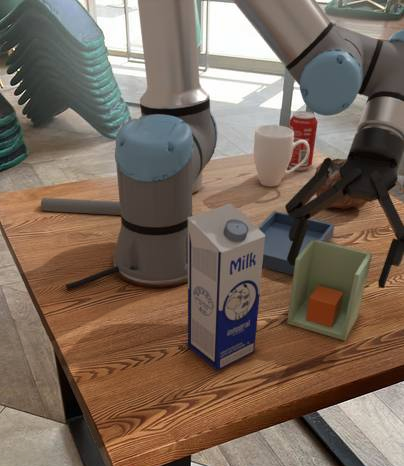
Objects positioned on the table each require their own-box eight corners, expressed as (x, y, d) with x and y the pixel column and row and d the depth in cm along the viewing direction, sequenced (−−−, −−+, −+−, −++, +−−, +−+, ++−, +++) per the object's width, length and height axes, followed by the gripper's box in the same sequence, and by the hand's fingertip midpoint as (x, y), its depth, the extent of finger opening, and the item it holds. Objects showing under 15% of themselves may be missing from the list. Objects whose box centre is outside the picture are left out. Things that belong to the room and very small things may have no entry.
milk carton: (224, 329, 85) (231, 201, 72) (255, 351, 81) (267, 220, 68) (186, 347, 81) (186, 216, 69) (216, 371, 77) (222, 236, 65)
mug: (249, 188, 126) (252, 135, 119) (253, 174, 132) (257, 123, 125) (303, 193, 124) (311, 140, 117) (305, 179, 131) (312, 127, 123)
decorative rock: (376, 198, 123) (387, 151, 117) (372, 220, 115) (383, 171, 108) (315, 190, 126) (322, 144, 120) (307, 210, 118) (314, 162, 111)
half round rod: (136, 216, 114) (135, 208, 113) (40, 211, 115) (38, 202, 114) (139, 207, 117) (139, 199, 116) (46, 202, 118) (45, 194, 117)
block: (314, 307, 89) (318, 285, 86) (339, 314, 87) (343, 292, 85) (305, 320, 86) (309, 297, 83) (331, 327, 84) (335, 305, 82)
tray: (301, 277, 97) (303, 264, 95) (236, 260, 101) (237, 247, 100) (332, 236, 109) (334, 224, 107) (272, 222, 113) (274, 210, 111)
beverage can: (310, 162, 139) (317, 110, 131) (311, 172, 134) (319, 119, 126) (284, 161, 139) (290, 109, 132) (284, 171, 134) (290, 117, 127)
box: (302, 301, 91) (312, 238, 84) (357, 316, 88) (372, 253, 81) (286, 323, 86) (295, 259, 79) (344, 340, 83) (359, 275, 76)
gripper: (466, 165, 84) (420, 302, 83) (304, 138, 92) (261, 261, 91) (473, 139, 77) (423, 287, 76) (296, 112, 85) (250, 245, 84)
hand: (334, 273), depth 83 cm, fingers open, 13 cm apart
